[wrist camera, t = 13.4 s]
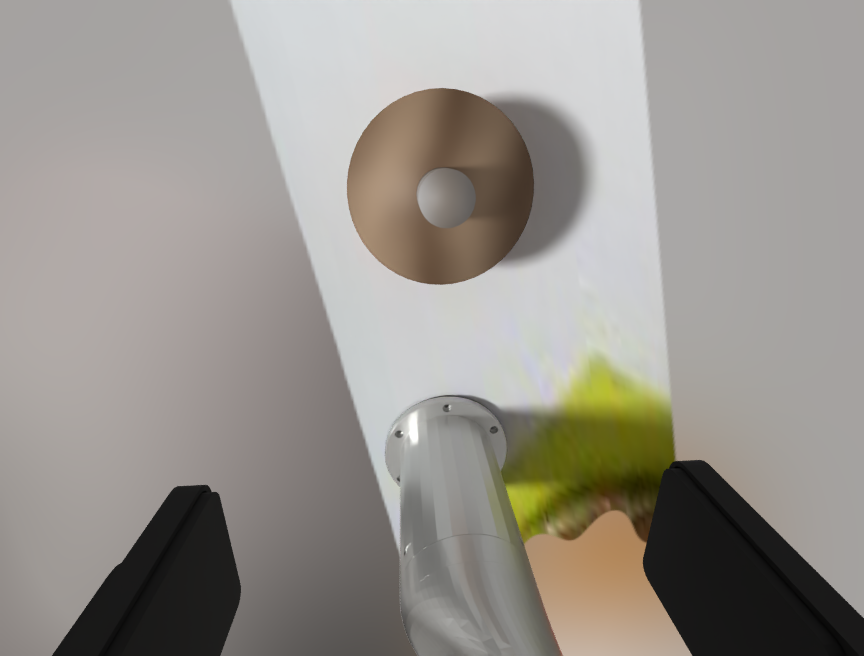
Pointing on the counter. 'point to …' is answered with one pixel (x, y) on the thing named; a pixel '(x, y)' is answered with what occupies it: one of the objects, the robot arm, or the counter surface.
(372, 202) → the lid
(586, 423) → the counter surface
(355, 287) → the counter surface
